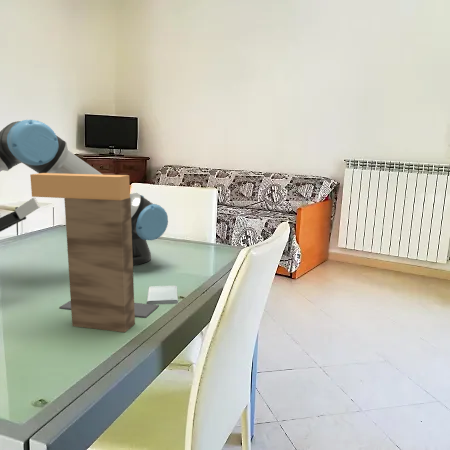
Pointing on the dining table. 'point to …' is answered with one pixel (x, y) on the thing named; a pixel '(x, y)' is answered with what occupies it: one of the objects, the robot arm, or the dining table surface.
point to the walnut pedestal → (100, 263)
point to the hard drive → (162, 295)
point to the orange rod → (80, 186)
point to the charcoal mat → (139, 309)
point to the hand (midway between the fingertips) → (18, 206)
